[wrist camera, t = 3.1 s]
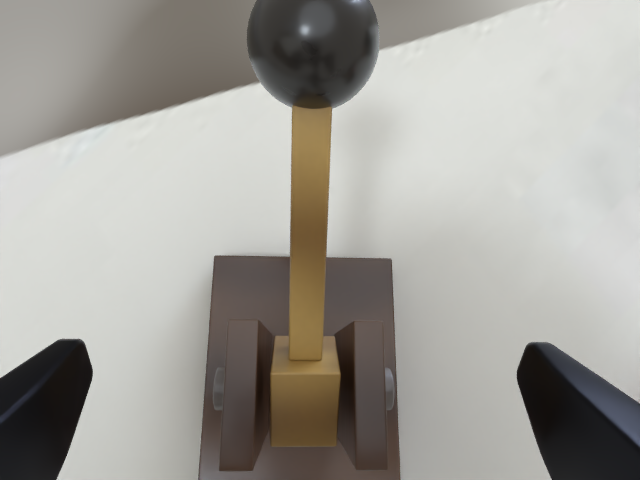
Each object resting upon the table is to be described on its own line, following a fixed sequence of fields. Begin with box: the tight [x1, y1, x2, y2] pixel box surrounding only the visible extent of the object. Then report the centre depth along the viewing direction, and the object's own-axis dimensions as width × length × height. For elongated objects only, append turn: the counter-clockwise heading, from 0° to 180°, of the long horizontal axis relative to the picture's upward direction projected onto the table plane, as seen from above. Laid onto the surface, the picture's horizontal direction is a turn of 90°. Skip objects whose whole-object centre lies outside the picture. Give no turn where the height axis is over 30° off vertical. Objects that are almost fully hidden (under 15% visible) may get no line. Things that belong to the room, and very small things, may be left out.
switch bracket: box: [198, 256, 400, 480], centre depth 18 cm, size 12×9×9 cm
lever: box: [247, 0, 379, 447], centre depth 13 cm, size 14×4×4 cm
